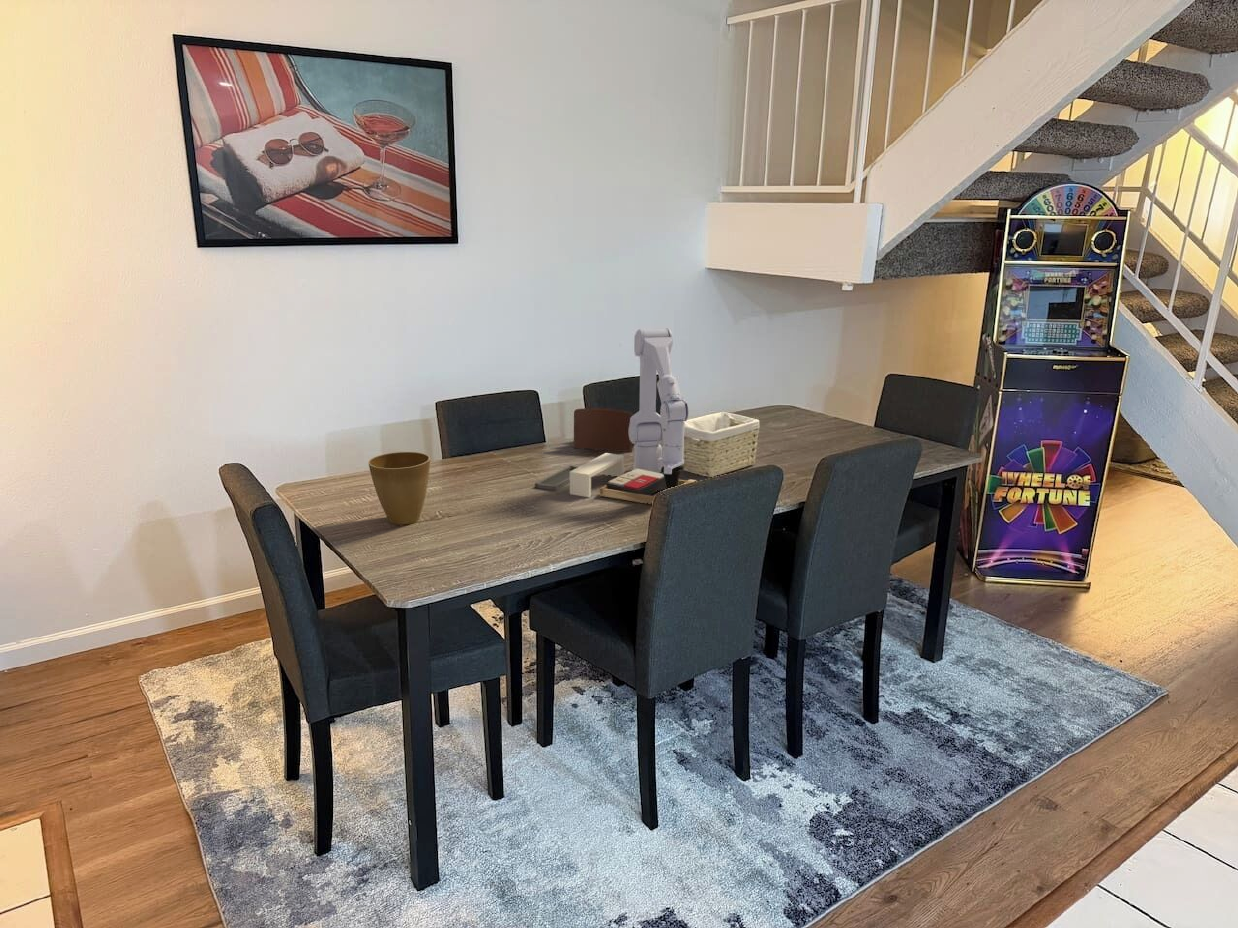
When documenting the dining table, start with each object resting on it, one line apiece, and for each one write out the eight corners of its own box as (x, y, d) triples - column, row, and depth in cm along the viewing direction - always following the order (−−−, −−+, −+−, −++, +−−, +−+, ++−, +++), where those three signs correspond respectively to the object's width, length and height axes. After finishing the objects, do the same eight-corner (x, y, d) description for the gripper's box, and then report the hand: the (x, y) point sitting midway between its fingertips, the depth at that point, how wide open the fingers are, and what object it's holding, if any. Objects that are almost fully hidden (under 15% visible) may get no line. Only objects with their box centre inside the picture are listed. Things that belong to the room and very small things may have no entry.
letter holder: (632, 452, 286) (632, 410, 282) (573, 448, 290) (573, 407, 286) (637, 445, 295) (638, 404, 291) (580, 441, 299) (580, 400, 295)
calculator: (605, 480, 242) (636, 466, 254) (605, 495, 243) (637, 480, 255) (637, 488, 236) (668, 473, 247) (638, 503, 237) (668, 487, 249)
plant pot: (408, 506, 231) (405, 448, 227) (445, 519, 222) (442, 458, 218) (360, 521, 220) (355, 459, 216) (397, 534, 211) (393, 471, 207)
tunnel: (571, 468, 267) (571, 448, 265) (623, 476, 259) (623, 455, 258) (533, 488, 248) (533, 466, 246) (588, 497, 240) (588, 474, 239)
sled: (628, 478, 257) (628, 470, 256) (695, 488, 248) (696, 480, 247) (599, 495, 241) (599, 487, 240) (670, 507, 232) (671, 498, 231)
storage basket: (708, 480, 257) (710, 431, 253) (669, 468, 268) (670, 421, 264) (760, 465, 273) (762, 419, 268) (720, 455, 284) (722, 410, 280)
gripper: (664, 436, 245) (662, 483, 249) (653, 449, 232) (652, 498, 235) (689, 438, 243) (687, 485, 247) (679, 452, 230) (677, 501, 234)
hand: (671, 492), depth 241 cm, fingers closed
